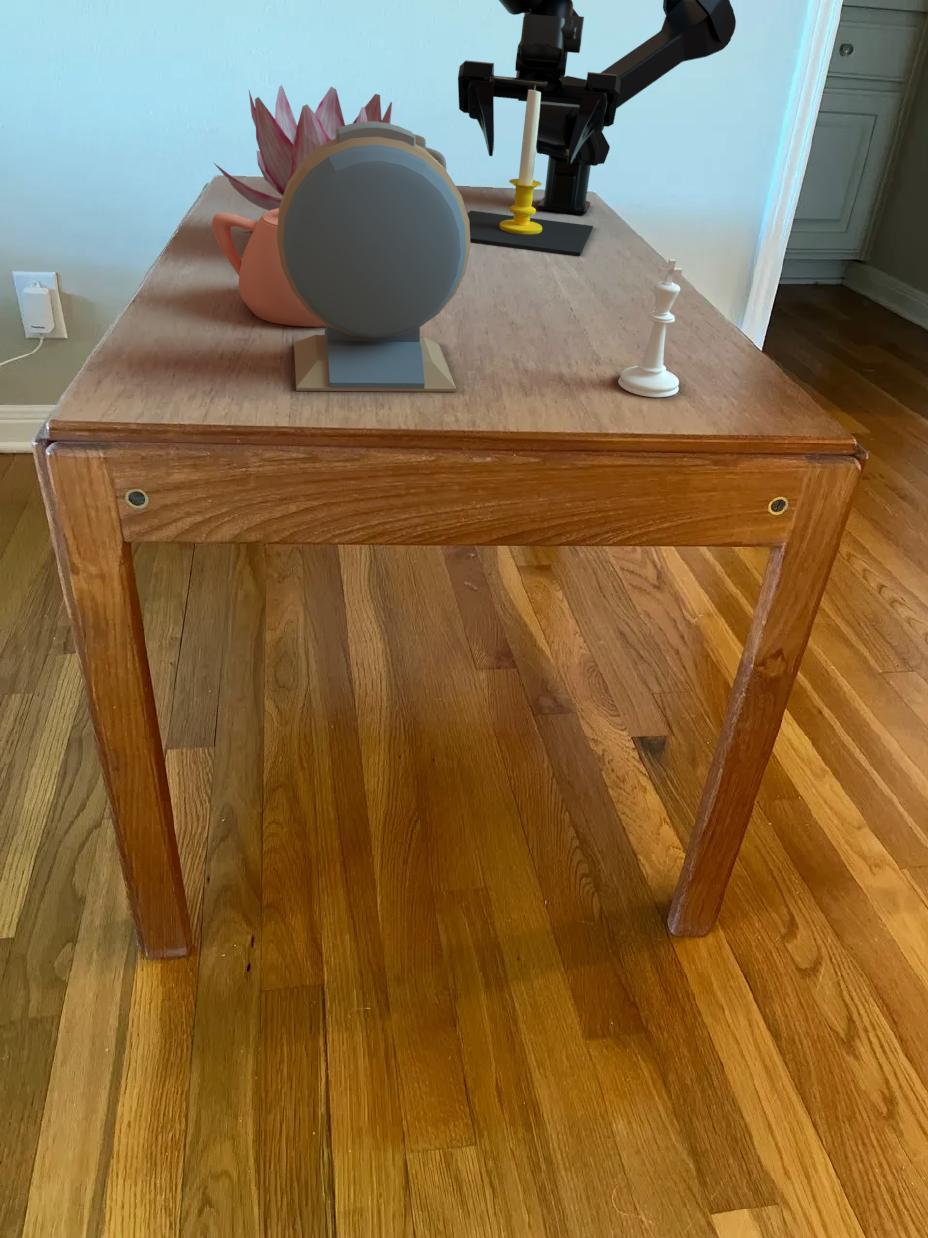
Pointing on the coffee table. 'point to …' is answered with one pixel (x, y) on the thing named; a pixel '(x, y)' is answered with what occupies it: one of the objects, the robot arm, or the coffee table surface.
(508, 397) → the coffee table surface
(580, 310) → the coffee table surface
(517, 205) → the candle
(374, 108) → the decorative flower
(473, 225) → the mat
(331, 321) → the alarm clock
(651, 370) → the chess piece
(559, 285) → the coffee table surface
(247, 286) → the teapot
